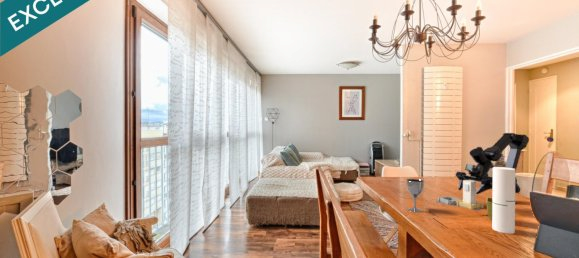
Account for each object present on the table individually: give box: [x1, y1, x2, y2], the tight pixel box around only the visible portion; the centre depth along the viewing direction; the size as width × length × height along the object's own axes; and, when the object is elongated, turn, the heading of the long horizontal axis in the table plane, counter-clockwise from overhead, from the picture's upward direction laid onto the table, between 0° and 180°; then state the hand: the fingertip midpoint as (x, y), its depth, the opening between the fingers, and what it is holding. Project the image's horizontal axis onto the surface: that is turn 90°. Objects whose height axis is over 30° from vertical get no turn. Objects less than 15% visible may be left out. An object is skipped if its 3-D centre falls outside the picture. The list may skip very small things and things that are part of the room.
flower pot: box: [485, 196, 492, 222], centre depth 119 cm, size 9×9×9 cm
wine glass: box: [406, 178, 425, 213], centre depth 134 cm, size 8×8×15 cm
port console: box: [435, 196, 487, 211], centre depth 142 cm, size 12×20×3 cm, turn 41°
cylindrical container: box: [491, 166, 516, 235], centre depth 108 cm, size 7×7×25 cm
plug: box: [462, 180, 477, 204], centre depth 138 cm, size 4×4×13 cm
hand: (467, 191), depth 137 cm, fingers open, 9 cm apart
